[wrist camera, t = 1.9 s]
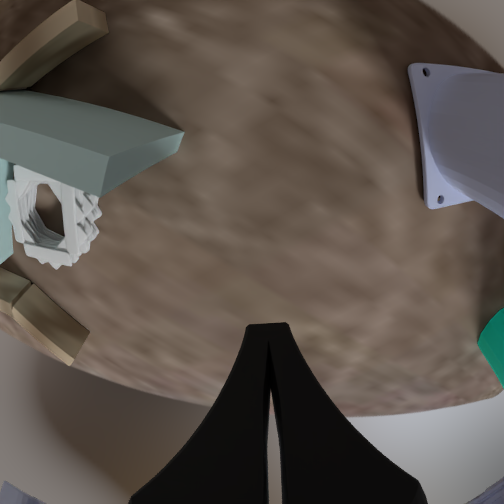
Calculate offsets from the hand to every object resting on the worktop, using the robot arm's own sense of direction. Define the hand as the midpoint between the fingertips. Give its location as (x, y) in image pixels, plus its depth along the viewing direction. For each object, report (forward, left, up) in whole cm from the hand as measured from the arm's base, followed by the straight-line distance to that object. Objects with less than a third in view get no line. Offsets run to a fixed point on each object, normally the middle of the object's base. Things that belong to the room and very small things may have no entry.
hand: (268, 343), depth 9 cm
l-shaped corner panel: (+10, -6, -7) cm, 14 cm away
